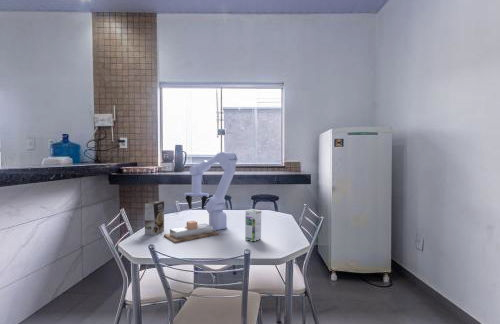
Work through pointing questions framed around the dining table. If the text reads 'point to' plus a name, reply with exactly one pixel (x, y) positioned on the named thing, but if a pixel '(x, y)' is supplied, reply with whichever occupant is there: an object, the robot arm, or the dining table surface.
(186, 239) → the board
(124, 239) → the dining table surface
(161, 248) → the dining table surface
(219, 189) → the robot arm
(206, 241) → the dining table surface
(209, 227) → the white square hole block
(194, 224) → the peg
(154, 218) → the coffee box
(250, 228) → the syrup box
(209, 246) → the dining table surface
